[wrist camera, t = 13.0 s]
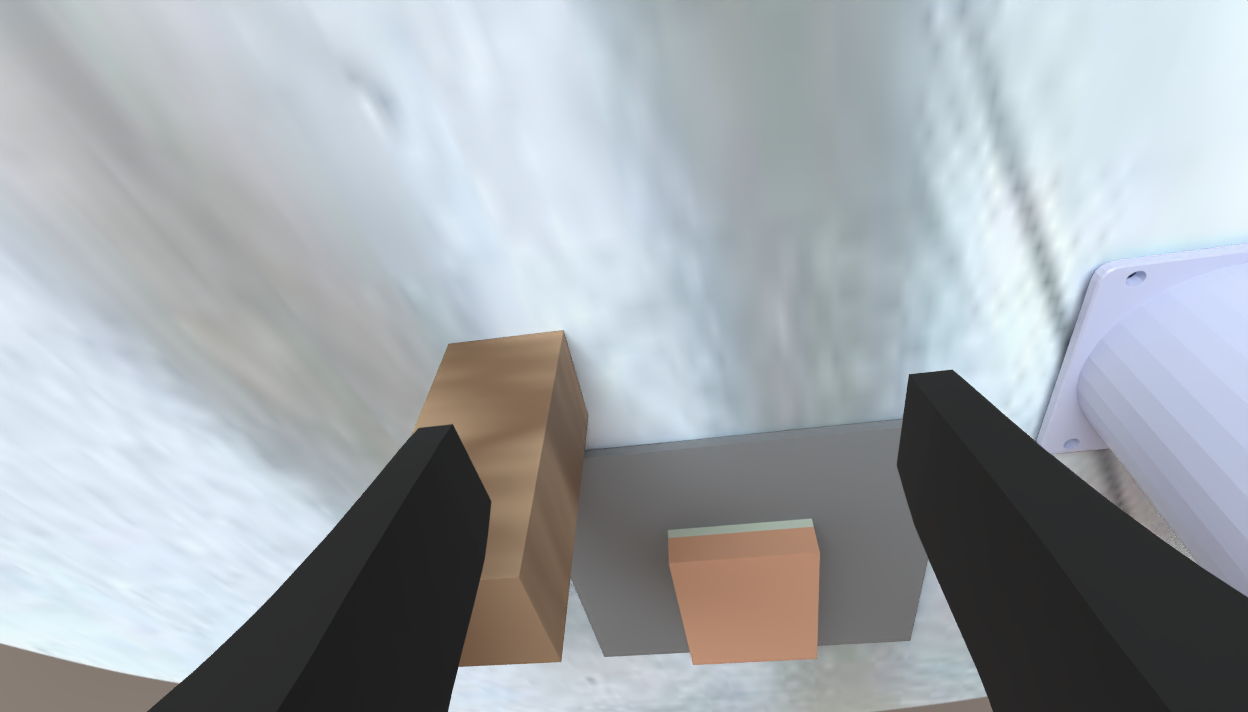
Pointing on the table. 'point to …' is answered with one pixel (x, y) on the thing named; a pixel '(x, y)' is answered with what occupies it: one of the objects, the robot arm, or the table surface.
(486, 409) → the wooden block
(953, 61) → the table surface
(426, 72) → the table surface
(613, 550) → the rubber mat
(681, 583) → the flat slab
